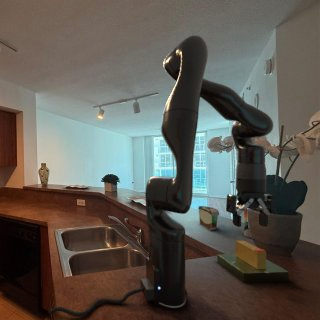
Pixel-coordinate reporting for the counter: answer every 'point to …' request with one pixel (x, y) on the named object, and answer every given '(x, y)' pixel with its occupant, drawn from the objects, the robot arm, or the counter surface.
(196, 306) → the counter surface
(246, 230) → the lotion bottle
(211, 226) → the food container
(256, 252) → the yellow rectangular block
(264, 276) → the holder base
